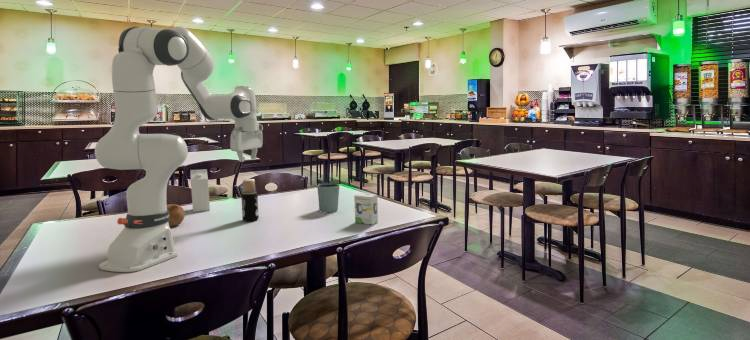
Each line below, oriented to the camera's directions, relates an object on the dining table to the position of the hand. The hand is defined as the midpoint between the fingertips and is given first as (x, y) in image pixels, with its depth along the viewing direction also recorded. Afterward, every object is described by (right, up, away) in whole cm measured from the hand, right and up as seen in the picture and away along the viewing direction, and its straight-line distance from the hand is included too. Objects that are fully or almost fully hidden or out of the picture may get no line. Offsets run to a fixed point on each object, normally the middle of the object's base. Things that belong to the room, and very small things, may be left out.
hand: (247, 160), depth 176 cm
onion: (-29, -27, -4) cm, 40 cm away
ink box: (+49, -26, -1) cm, 56 cm away
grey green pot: (+31, -23, +20) cm, 44 cm away
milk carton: (-28, -23, +22) cm, 43 cm away
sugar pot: (0, -13, +2) cm, 14 cm away
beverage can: (0, -26, +4) cm, 26 cm away
